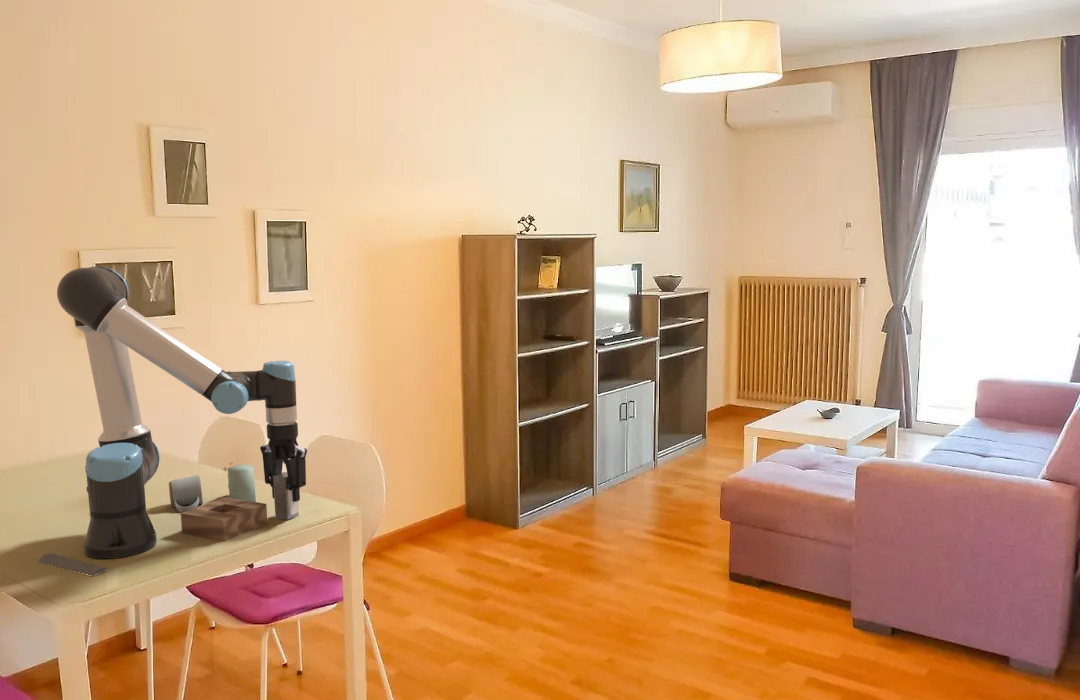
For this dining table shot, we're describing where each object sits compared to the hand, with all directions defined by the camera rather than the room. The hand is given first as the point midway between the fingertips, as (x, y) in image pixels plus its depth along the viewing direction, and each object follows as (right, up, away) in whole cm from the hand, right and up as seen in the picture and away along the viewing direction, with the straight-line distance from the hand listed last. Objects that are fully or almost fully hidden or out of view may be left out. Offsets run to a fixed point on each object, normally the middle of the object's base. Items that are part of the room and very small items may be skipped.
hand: (286, 512), depth 222 cm
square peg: (0, -1, 0) cm, 1 cm away
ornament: (-19, +1, +20) cm, 28 cm away
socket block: (-13, -2, -8) cm, 15 cm away
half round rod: (-38, -7, -31) cm, 50 cm away
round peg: (-14, 0, +8) cm, 16 cm away
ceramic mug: (-30, -1, +11) cm, 32 cm away
